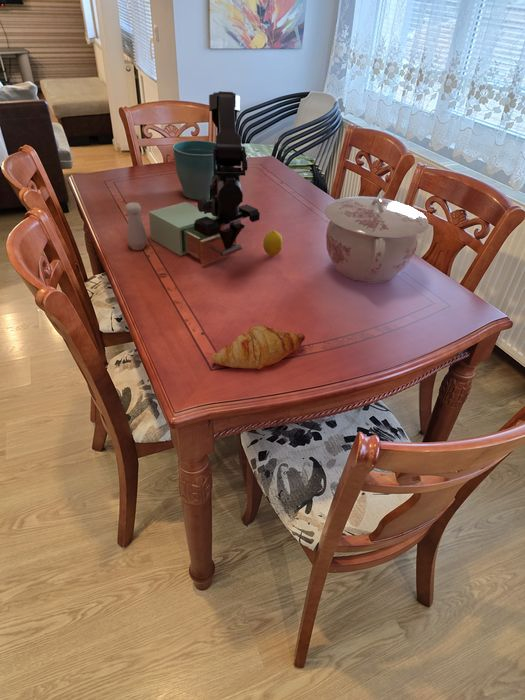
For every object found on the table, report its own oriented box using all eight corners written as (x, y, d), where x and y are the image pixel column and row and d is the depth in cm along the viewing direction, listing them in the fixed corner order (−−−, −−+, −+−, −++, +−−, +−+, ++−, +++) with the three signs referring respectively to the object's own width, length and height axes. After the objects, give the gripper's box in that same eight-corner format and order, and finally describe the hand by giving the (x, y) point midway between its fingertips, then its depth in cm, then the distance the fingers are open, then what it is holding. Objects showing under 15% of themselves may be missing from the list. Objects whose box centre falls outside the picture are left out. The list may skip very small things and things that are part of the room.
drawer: (248, 258, 133) (249, 236, 129) (215, 272, 126) (215, 249, 122) (206, 236, 143) (206, 215, 139) (173, 247, 136) (172, 225, 132)
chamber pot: (354, 241, 149) (366, 175, 136) (430, 274, 134) (453, 204, 121) (295, 267, 133) (303, 195, 120) (375, 308, 118) (394, 230, 105)
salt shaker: (143, 252, 135) (138, 209, 127) (124, 250, 135) (118, 206, 127) (151, 244, 139) (146, 201, 131) (132, 241, 140) (127, 199, 132)
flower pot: (233, 194, 177) (234, 147, 166) (204, 207, 164) (203, 157, 154) (196, 183, 184) (194, 137, 173) (165, 195, 171) (161, 146, 161)
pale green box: (216, 243, 142) (216, 216, 137) (180, 256, 134) (178, 227, 129) (186, 227, 150) (185, 201, 145) (151, 239, 142) (148, 211, 137)
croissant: (217, 387, 96) (223, 372, 89) (202, 344, 100) (207, 327, 93) (306, 362, 104) (318, 347, 97) (290, 323, 107) (300, 306, 100)
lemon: (275, 262, 135) (277, 236, 130) (259, 256, 137) (260, 231, 132) (284, 255, 138) (287, 230, 133) (268, 250, 140) (270, 225, 136)
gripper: (234, 177, 129) (232, 231, 138) (179, 191, 118) (182, 248, 127) (262, 189, 123) (259, 244, 132) (207, 204, 112) (208, 263, 121)
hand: (227, 249), depth 128 cm, fingers closed
